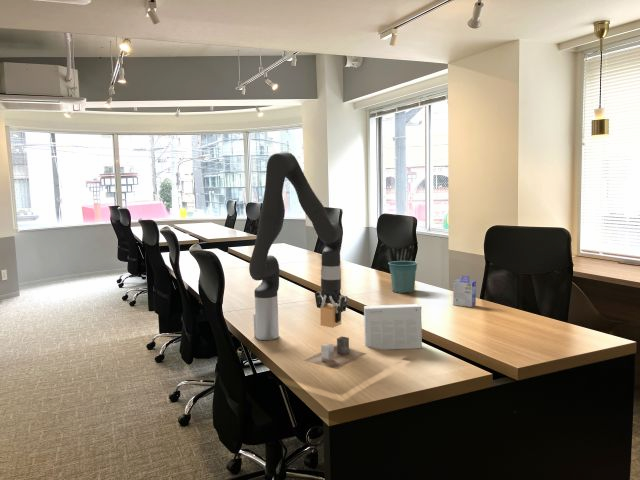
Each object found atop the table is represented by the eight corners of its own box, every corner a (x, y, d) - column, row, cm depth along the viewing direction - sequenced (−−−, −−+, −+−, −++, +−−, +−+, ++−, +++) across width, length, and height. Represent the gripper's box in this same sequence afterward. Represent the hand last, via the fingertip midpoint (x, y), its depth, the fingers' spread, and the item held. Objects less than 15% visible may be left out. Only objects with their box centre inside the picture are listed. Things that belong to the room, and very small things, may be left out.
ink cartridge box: (476, 305, 250) (476, 276, 248) (472, 307, 246) (472, 278, 244) (457, 302, 256) (457, 274, 254) (452, 305, 252) (453, 276, 250)
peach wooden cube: (320, 325, 191) (320, 307, 190) (329, 321, 196) (329, 304, 195) (332, 327, 188) (332, 309, 187) (341, 324, 192) (341, 306, 191)
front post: (321, 360, 174) (321, 345, 173) (327, 358, 176) (326, 343, 175) (328, 362, 172) (328, 346, 171) (333, 360, 174) (333, 344, 173)
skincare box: (419, 344, 194) (419, 303, 192) (422, 348, 188) (422, 307, 186) (364, 345, 193) (363, 305, 191) (365, 350, 188) (365, 308, 186)
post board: (303, 364, 175) (303, 344, 174) (335, 350, 189) (334, 331, 188) (336, 373, 166) (336, 352, 165) (366, 357, 180) (366, 338, 179)
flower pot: (382, 289, 289) (382, 262, 288) (406, 286, 296) (406, 259, 294) (399, 295, 275) (398, 266, 273) (423, 292, 281) (423, 263, 280)
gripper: (309, 276, 191) (309, 319, 193) (340, 281, 182) (340, 326, 184) (321, 273, 197) (321, 315, 199) (352, 277, 188) (352, 321, 190)
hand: (331, 320), depth 192 cm, fingers closed on peach wooden cube, 5 cm apart
